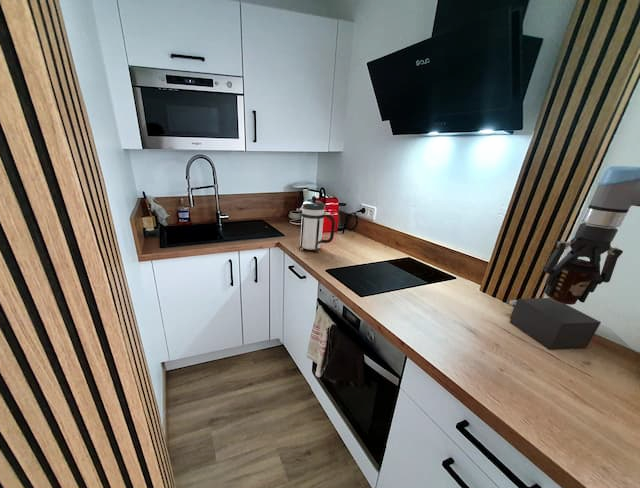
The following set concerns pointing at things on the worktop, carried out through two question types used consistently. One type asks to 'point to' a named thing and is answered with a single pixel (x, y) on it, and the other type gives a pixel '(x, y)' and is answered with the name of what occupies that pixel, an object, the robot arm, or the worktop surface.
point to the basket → (514, 302)
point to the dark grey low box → (554, 323)
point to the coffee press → (314, 225)
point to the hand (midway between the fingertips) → (563, 297)
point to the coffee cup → (573, 281)
